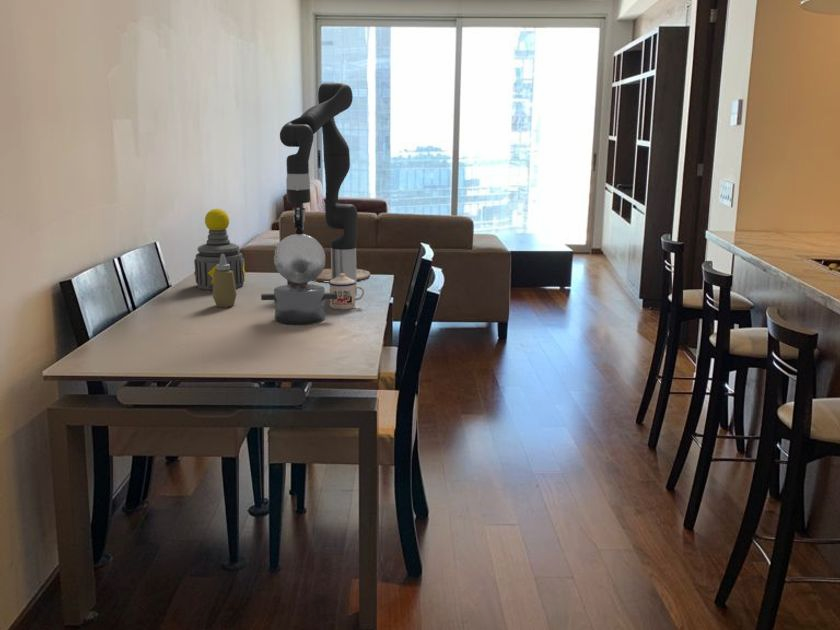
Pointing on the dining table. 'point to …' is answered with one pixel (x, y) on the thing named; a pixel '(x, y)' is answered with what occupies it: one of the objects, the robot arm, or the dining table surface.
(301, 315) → the cooker pot
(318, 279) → the trivet
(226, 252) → the decorative lamp
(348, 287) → the teacup with lid
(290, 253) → the lid
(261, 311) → the dining table surface
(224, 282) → the squeeze bottle
